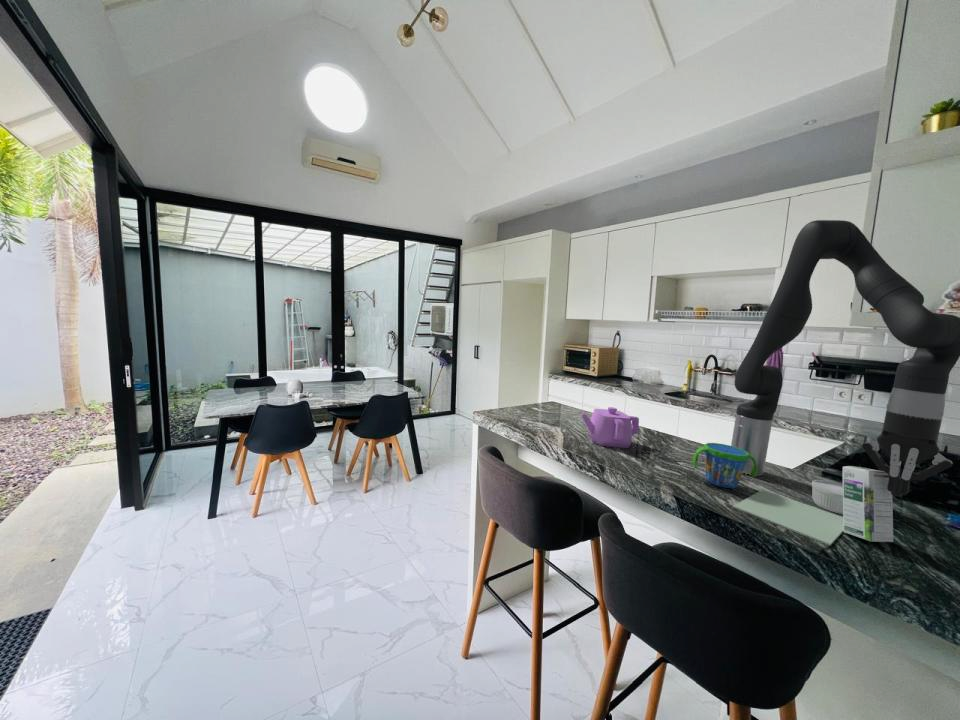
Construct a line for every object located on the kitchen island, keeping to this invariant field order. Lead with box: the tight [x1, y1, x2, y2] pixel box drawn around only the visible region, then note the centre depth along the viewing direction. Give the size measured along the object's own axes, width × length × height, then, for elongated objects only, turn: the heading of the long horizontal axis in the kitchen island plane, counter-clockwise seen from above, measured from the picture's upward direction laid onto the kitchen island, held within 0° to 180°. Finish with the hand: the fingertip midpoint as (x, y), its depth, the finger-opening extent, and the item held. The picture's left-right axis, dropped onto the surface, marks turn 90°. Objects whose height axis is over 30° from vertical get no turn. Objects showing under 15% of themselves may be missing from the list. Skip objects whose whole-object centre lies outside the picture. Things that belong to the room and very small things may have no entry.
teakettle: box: [580, 406, 640, 449], centre depth 140 cm, size 17×17×12 cm
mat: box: [732, 489, 844, 547], centre depth 93 cm, size 20×18×1 cm
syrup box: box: [842, 465, 894, 543], centre depth 84 cm, size 6×6×14 cm
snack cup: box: [692, 442, 757, 490], centre depth 108 cm, size 16×10×10 cm
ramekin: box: [811, 479, 843, 516], centre depth 99 cm, size 11×11×5 cm
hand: (896, 495), depth 80 cm, fingers closed
